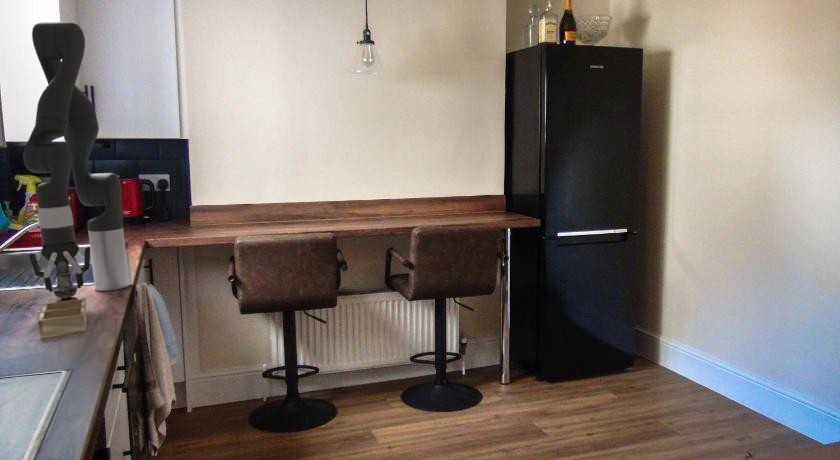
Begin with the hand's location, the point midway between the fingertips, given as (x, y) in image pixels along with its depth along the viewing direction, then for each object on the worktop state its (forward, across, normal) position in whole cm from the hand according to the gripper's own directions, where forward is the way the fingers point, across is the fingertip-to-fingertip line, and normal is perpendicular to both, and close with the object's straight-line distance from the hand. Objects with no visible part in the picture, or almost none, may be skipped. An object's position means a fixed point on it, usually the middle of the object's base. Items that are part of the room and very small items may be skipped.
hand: (65, 289), depth 174 cm
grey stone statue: (+3, 0, 0) cm, 3 cm away
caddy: (+5, 0, -16) cm, 17 cm away
